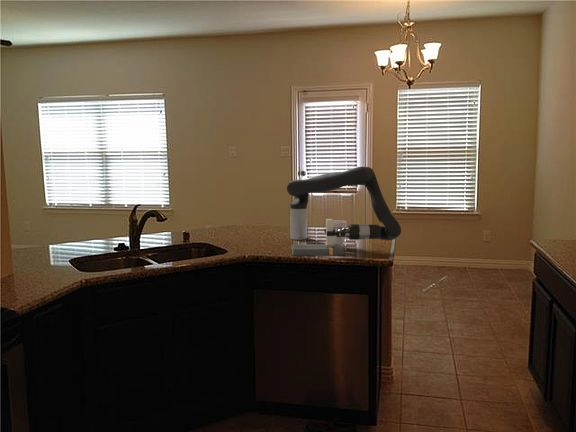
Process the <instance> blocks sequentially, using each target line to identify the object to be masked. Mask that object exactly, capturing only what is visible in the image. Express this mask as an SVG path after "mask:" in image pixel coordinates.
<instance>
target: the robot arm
mask: <svg viewBox="0 0 576 432" xmlns="http://www.w3.org/2000/svg"><path fill="white" fill-rule="evenodd" d="M376 176H377V175H376V174H375V171H374V170H373V168H372V167H370V166H357V167H355V168H351V169H349V170H345V171H337V172H329V173H325V174H320V175H316V176H313V177H309V178H307V179H293V180H291V181H290V182H289V183H288V184H287V185H286V191H287V193H288V194H289V195H290V196H291V197H294V200H293V201H292V202H291V203H290V205H289V206H290V209H289V210H290V211H289V212H290V213H289V214H290V217H289V220H290V223H289V224H290V225H289V226H290V227H289V228H290V231H289V232H290V234H289V235H290V239H291V240H296V241H298V240H300V241H301V240H306V239H307V236H308V229H307V228H308V227H307V226H308V225H307V224H308V223H307V221H308V220H307V219H308V216H307V215H308V213H307V209H308V208H307V207H308V203H309V196H310V195H309V193H325V192H331V191H336V190H338V189H341V188H343V187H346V186H348V187H349V186H364V187H365V188H366V190H367V191H368V193H369V195H370V196H369V197H370V201H371V206H372V207H371V208H372V210H373V212H374V215H375V216H376V218H377V220H378V221H379V223H382V225H383V226H380V225H379V224H365V223H361V224H360V223H354V224H353V223H352V224H349V225H348V228H347V227H346V228H345V227H333V231H327V236H336V237H345V238H348V239H349V240H350V241H351V240H352V241H355V240H358V241H359V240H360V241H362V240H363V241H364V240H382V241H394V240H396V239H397V238H398V237H399V236H400V235H401V233H402V227H401V225H400V223H399V221H397V219H396V217H394V215H393V213H392V212H391V210H390V208H389V206H388V204H387V202H386V201H385V198H384V196H383V194H382V191H381V187H380V185H379V182H378V179H377V177H376ZM335 230H336V231H335ZM324 234H326V228H324Z"/></svg>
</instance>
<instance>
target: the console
mask: <svg viewBox="0 0 576 432" xmlns="http://www.w3.org/2000/svg"><path fill="white" fill-rule="evenodd" d="M344 251H345V249H344V246H343V247H342V246H341V245H340V244H334V247H326V246H325V243H322V244H321V243H317V244H315V243H314V244H312V243H311V244H310V243H309V244H308V243H307V244H304V243H303V244H301V243H299V244H291V253H292V256H297V257H298V256H344V255H345V252H344Z"/></svg>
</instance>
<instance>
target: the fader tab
mask: <svg viewBox="0 0 576 432" xmlns="http://www.w3.org/2000/svg"><path fill="white" fill-rule="evenodd" d="M333 220H334V218H326V219H325V229H326V233H325V243H324V244H325V246H326V247H334V244H333V236H327V231H333Z"/></svg>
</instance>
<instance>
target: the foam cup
mask: <svg viewBox="0 0 576 432" xmlns="http://www.w3.org/2000/svg"><path fill="white" fill-rule="evenodd" d="M347 224H348V223H347V221H346V220H338V219H337V220H334V219H333V227H345V228H346V229H347ZM335 231H336V230H335ZM345 239H346V237H336V236H333V244H340V245H341V246H342V247H343V248H344V242H345Z"/></svg>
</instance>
